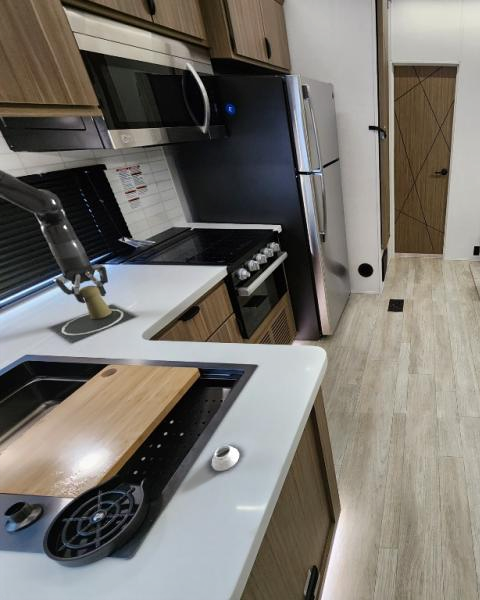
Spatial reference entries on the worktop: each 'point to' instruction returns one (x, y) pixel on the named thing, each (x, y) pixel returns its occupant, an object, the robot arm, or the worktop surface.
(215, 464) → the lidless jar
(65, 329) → the slate board
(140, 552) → the worktop surface
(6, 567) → the worktop surface
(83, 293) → the cork
